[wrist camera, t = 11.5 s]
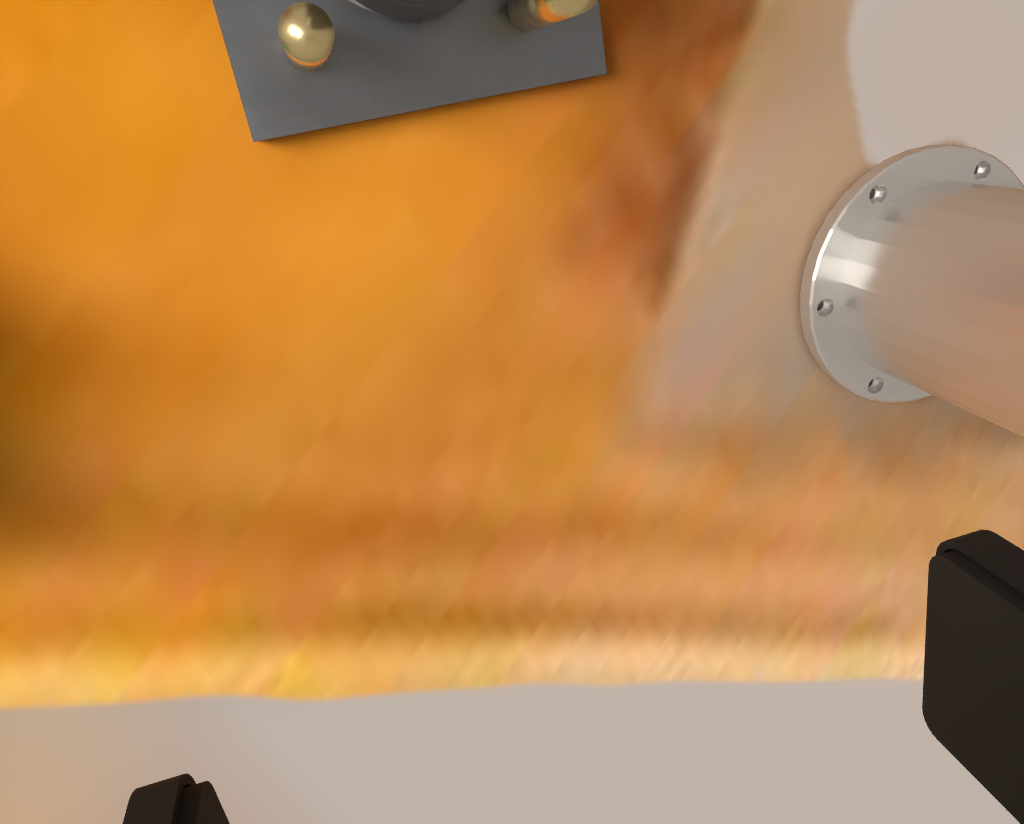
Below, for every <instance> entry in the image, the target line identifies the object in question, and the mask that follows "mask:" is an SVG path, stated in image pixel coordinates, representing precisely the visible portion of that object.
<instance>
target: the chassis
mask: <svg viewBox="0 0 1024 824" xmlns="http://www.w3.org/2000/svg"><path fill="white" fill-rule="evenodd" d="M213 3H214V7H215V10H216V14H217V17H218V21H219V24H220V28H221V31H222V35H223V38H224V41H225V45H226V48H227V52H228V55H229V59H230V62H231V66H232V69H233V73H234V76H235V80H236V83H237V87H238V90H239V93H240V97H241V100H242V104H243V107H244V111H245V114H246V118H247V121H248V125H249V128H250V132H251V135H252V138H253V142H256V141H261V140H266V139H271V138H277V137H282V136H287V135H292V134H297V133H302V132H308V131H313V130H318V129H323V128H328V127H333V126H339V125H344V124H349V123H354V122H359V121H365V120H370V119H375V118H380V117H385V116H390V115H396V114H401V113H406V112H411V111H416V110H421V109H427V108H432V107H437V106H442V105H447V104H453V103H458V102H463V101H468V100H473V99H478V98H484V97H489V96H494V95H499V94H504V93H509V92H515V91H520V90H525V89H530V88H535V87H541V86H546V85H551V84H556V83H561V82H566V81H572V80H577V79H582V78H587V77H592V76H597V75H603V74H607V69H606V61H605V52H604V43H603V35H602V26H601V17H600V9H599V0H465V1H464V2H462V3H461V4H459V5H458V6H457V7H455V8H453V9H451V10H449V11H448V12H445V13H443V14H440V15H437V16H434V17H430V18H425V19H416V20H407V19H397V18H392V17H388V16H384V15H382V14H379V13H376V12H374V11H372V10H370V9H368V8H366V7H364V6H363V5H361V4H360V3H358V2H357V1H355V0H213Z"/></svg>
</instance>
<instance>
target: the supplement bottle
mask: <svg viewBox="0 0 1024 824" xmlns="http://www.w3.org/2000/svg"><path fill="white" fill-rule="evenodd" d="M355 1H357V2H358V3H360V4H361V5H363V6H364V7H366V8H368V9H370V10H372V11H374V12H376V13H379V14H382V15H384V16H388V17H392V18H397V19H407V20H416V19H425V18H430V17H434V16H437V15H440V14H443V13H445V12H448V11H449V10H451V9H453V8H455V7H457V6H458V5H459V4H461V3H462V2H464V1H465V0H355Z"/></svg>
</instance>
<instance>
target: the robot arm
mask: <svg viewBox="0 0 1024 824" xmlns="http://www.w3.org/2000/svg"><path fill="white" fill-rule="evenodd" d="M800 315H801V321H802V327H803V333H804V337H805V339H806V342H807V344H808V347H809V349H810V352H811V355H812V356H813V357H814V359H815V360H816V362H817V363H818V365H819V366H820V368H821V369H822V371H823V372H824V373H825V374H827V375H828V376H829V377H830V378H831V379H832V380H833V381H834V382H835V383H837V384H838V385H840V386H842V387H844V388H845V389H847V390H849V391H851V392H852V393H854V394H856V395H859V396H861V397H864V398H866V399H869V400H872V401H880V402H887V403H899V402H911V401H915V400H919V399H922V398H926V397H929V396H932V395H933V396H936V397H938V398H940V399H942V400H944V401H946V402H948V403H951V404H953V405H955V406H957V407H959V408H961V409H964V410H966V411H968V412H970V413H972V414H974V415H977V416H979V417H981V418H983V419H985V420H987V421H989V422H992V423H994V424H996V425H998V426H1000V427H1002V428H1005V429H1007V430H1009V431H1011V432H1013V433H1015V434H1017V435H1020V436H1022V437H1024V186H1023V184H1022V183H1021V182H1020V180H1019V179H1018V178H1017V176H1016V175H1015V174H1014V173H1013V171H1012V170H1011V169H1010V168H1009V167H1008V166H1007V165H1005V164H1004V163H1003V162H1001V161H1000V160H999V159H997V158H996V157H995V156H993V155H990V154H988V153H985V152H983V151H980V150H978V149H976V148H969V147H962V146H954V145H929V146H924V147H920V148H916V149H911V150H907V151H904V152H902V153H900V154H898V155H895V156H893V157H891V158H889V159H886V160H884V161H883V162H881V163H880V164H878V165H877V166H875V167H874V168H873V169H871V170H870V171H868V172H867V173H865V174H864V175H862V176H861V177H860V178H859V179H858V180H857V181H856V182H855V183H854V184H853V185H852V186H851V187H850V188H849V189H848V190H847V191H846V192H845V193H844V194H843V195H842V196H841V198H840V199H839V200H838V202H837V203H836V204H835V206H834V207H833V208H832V210H831V211H830V212H829V213H828V215H827V216H826V218H825V220H824V222H823V224H822V226H821V227H820V229H819V231H818V233H817V235H816V237H815V238H814V241H813V244H812V246H811V249H810V252H809V255H808V258H807V260H806V263H805V268H804V273H803V278H802V284H801V289H800ZM922 708H923V715H924V719H925V721H926V723H927V726H928V727H929V729H930V731H931V732H932V734H933V735H934V736H935V737H936V739H937V740H938V741H940V743H941V744H942V745H943V746H945V748H946V749H947V750H948V751H949V752H950V753H951V754H952V755H953V756H954V757H955V758H956V759H957V760H958V761H959V762H960V763H961V764H962V765H963V766H964V767H965V768H966V769H967V770H968V771H969V772H970V773H971V774H972V775H973V776H974V777H975V778H976V779H977V780H978V781H979V782H980V783H981V784H982V785H983V786H984V787H985V788H986V789H987V790H988V791H989V792H990V793H991V794H992V795H993V796H994V797H995V798H996V799H997V800H998V801H999V802H1000V803H1001V804H1002V805H1003V806H1004V807H1005V808H1006V809H1007V810H1008V811H1009V812H1010V813H1011V814H1012V815H1013V816H1014V817H1015V818H1016V819H1017V821H1019V823H1020V824H1024V551H1023V550H1022V549H1020V548H1019V547H1017V546H1015V545H1014V544H1012V543H1010V542H1009V541H1007V540H1006V539H1004V538H1002V537H1001V536H999V535H998V534H996V533H994V532H991V531H989V530H979V531H976V532H972V533H969V534H966V535H963V536H959V537H956V538H953V539H949V540H946V541H944V542H942V543H940V545H939V546H938V548H937V551H936V556H934V557H932V559H931V560H930V563H929V573H928V595H927V617H926V639H925V661H924V683H923V705H922ZM123 824H229V821H228V819H227V817H226V815H225V812H224V810H223V808H222V806H221V803H220V801H219V799H218V797H217V794H216V792H215V790H214V788H213V786H212V784H211V783H210V782H209V781H205V782H202V783H198V784H196V783H195V781H194V779H193V778H192V777H191V776H190V775H189V774H183V775H179V776H176V777H173V778H170V779H166V780H163V781H160V782H157V783H153V784H150V785H147V786H143V787H140V788H137V789H135V790H134V792H133V793H132V795H131V797H130V799H129V802H128V806H127V809H126V814H125V817H124V821H123Z"/></svg>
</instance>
